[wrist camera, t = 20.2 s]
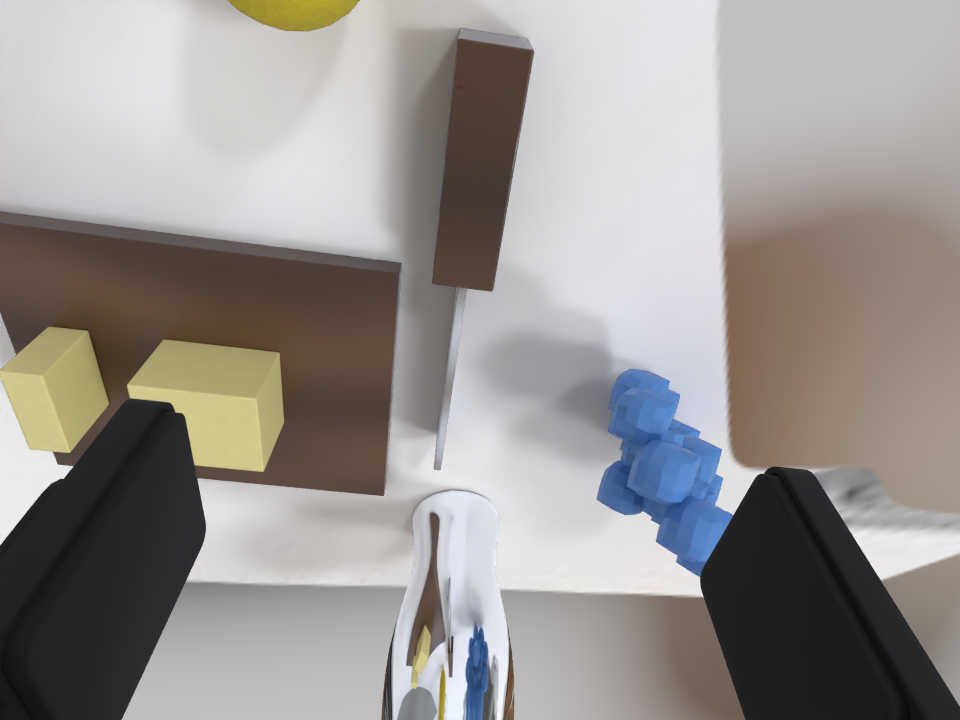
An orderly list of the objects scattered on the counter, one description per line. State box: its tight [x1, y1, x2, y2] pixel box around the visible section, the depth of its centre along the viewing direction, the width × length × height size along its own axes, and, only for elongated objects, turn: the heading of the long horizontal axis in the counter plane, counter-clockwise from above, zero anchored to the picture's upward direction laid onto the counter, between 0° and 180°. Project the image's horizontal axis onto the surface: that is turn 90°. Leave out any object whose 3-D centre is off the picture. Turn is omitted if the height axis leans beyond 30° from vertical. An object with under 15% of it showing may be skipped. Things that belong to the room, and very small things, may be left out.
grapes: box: [597, 369, 733, 577], centre depth 30 cm, size 12×7×12 cm, turn 32°
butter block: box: [127, 339, 284, 472], centre depth 31 cm, size 5×6×4 cm
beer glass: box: [381, 491, 514, 720], centre depth 35 cm, size 7×7×15 cm
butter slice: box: [0, 327, 109, 453], centre depth 30 cm, size 5×2×4 cm, turn 172°
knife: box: [432, 28, 534, 470], centre depth 29 cm, size 22×3×3 cm, turn 172°
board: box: [0, 212, 402, 496], centre depth 33 cm, size 16×20×1 cm
